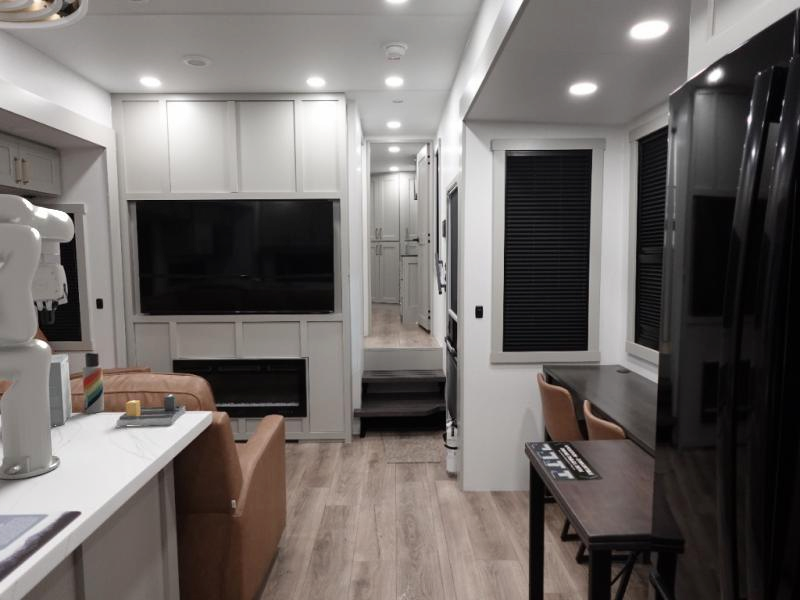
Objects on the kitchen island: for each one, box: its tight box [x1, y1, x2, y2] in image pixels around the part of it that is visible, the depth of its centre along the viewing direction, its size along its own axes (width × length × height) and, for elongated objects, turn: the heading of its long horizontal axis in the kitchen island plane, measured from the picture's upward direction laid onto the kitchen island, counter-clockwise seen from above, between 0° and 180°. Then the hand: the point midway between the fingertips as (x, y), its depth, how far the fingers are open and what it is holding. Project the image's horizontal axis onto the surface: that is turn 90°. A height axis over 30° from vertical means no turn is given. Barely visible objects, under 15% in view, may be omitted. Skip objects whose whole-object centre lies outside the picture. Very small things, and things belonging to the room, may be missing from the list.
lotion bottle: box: [82, 352, 105, 414], centre depth 174 cm, size 6×6×20 cm
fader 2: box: [163, 394, 178, 410], centre depth 168 cm, size 3×3×5 cm
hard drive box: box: [49, 353, 73, 427], centre depth 164 cm, size 16×8×20 cm, turn 25°
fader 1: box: [125, 399, 141, 416], centre depth 161 cm, size 3×3×5 cm
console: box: [116, 405, 187, 427], centre depth 165 cm, size 14×16×3 cm
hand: (48, 323), depth 151 cm, fingers closed
